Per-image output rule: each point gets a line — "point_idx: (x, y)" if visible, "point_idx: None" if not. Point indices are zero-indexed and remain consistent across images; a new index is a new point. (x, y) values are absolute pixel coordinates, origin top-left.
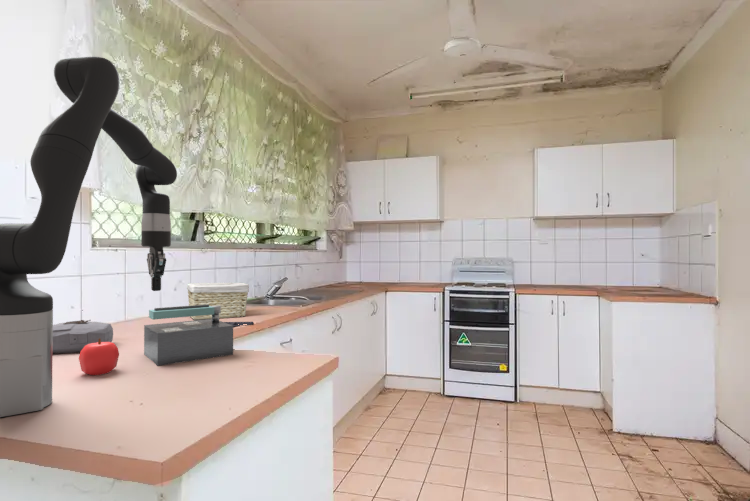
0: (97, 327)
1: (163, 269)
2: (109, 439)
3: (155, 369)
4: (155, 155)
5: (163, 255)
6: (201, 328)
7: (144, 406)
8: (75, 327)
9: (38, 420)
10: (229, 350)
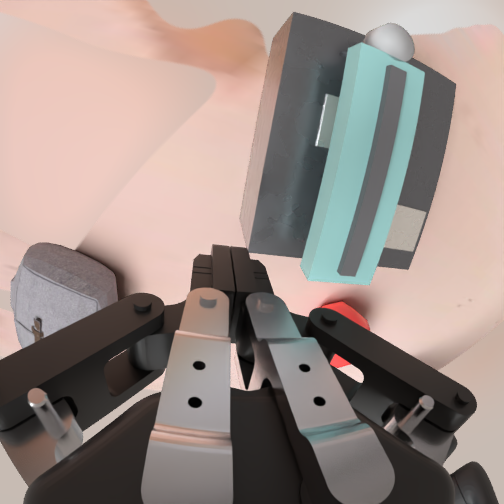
0: (87, 313)
1: (387, 349)
2: (487, 326)
3: None
4: None
5: (377, 477)
6: (436, 162)
7: (475, 299)
8: None
9: (429, 362)
10: None
